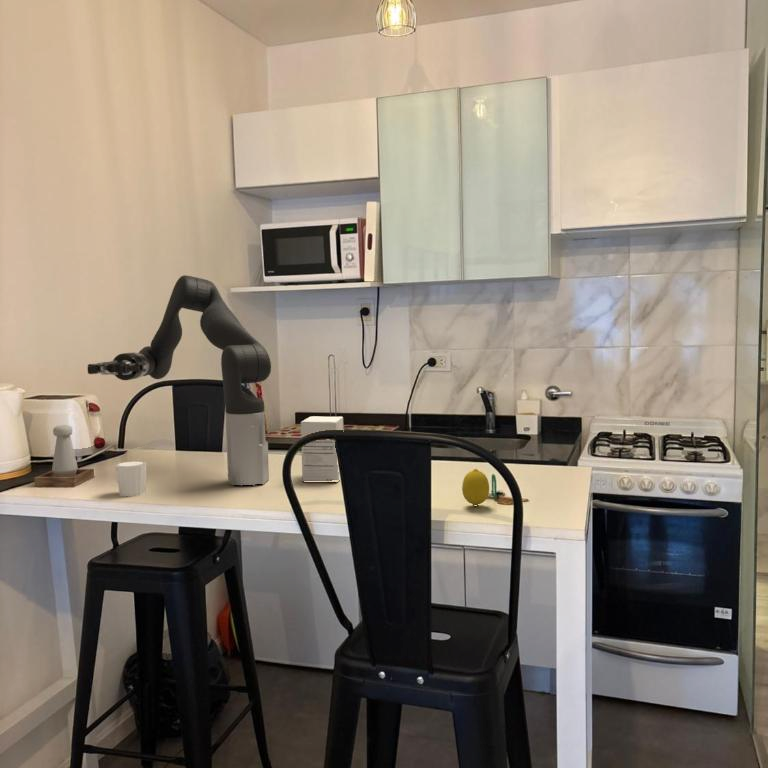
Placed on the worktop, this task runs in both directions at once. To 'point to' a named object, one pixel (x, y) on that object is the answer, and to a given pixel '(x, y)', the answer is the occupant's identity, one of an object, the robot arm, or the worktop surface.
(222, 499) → the worktop surface
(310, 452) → the supplement box
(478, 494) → the lemon
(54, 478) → the wooden tray
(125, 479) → the shot glass
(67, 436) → the salt shaker
